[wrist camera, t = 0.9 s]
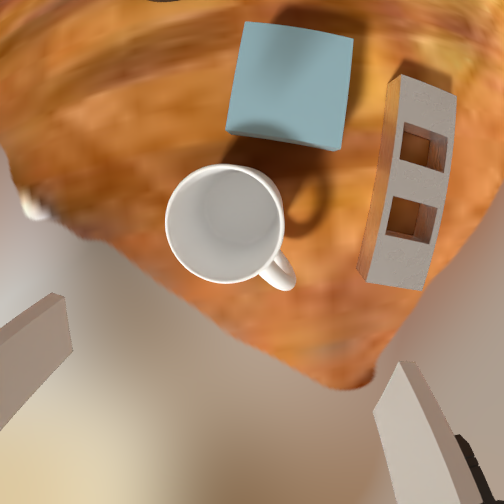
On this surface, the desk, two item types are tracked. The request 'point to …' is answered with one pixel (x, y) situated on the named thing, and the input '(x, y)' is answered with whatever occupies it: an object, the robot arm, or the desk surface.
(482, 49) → the desk surface
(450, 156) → the grey block with holes
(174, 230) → the mug
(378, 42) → the desk surface
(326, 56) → the pale blue memo pad
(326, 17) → the desk surface
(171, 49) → the desk surface
